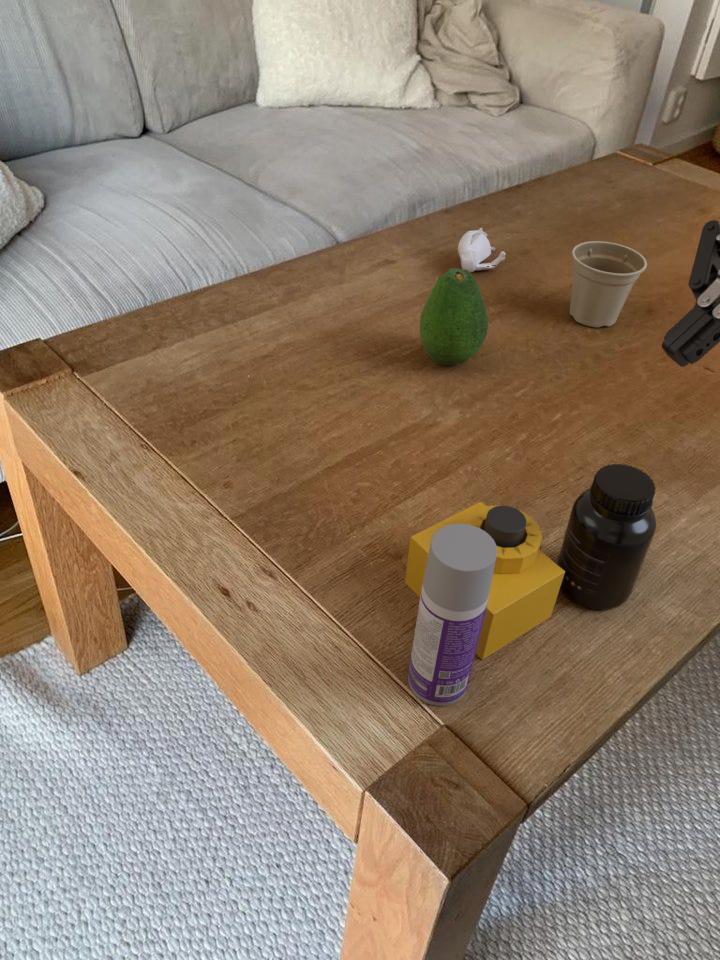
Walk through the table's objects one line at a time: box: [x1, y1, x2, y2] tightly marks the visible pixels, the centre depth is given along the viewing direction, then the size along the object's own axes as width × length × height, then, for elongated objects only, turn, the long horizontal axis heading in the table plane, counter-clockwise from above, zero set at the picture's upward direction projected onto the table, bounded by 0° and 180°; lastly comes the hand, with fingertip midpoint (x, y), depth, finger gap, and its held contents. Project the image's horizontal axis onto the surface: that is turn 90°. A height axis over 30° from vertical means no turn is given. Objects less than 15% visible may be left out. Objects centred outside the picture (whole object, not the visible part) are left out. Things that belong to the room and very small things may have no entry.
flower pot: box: [569, 240, 648, 329], centre depth 107 cm, size 9×9×9 cm
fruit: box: [419, 267, 489, 366], centre depth 95 cm, size 8×8×12 cm
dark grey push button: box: [484, 505, 526, 548], centre depth 66 cm, size 3×3×2 cm
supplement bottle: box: [556, 463, 657, 611], centre depth 69 cm, size 7×7×12 cm
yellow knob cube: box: [404, 501, 565, 661], centre depth 68 cm, size 10×8×8 cm
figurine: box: [457, 227, 506, 273], centre depth 118 cm, size 6×6×12 cm
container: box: [407, 524, 497, 707], centre depth 59 cm, size 5×5×15 cm
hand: (671, 356), depth 61 cm, fingers closed
